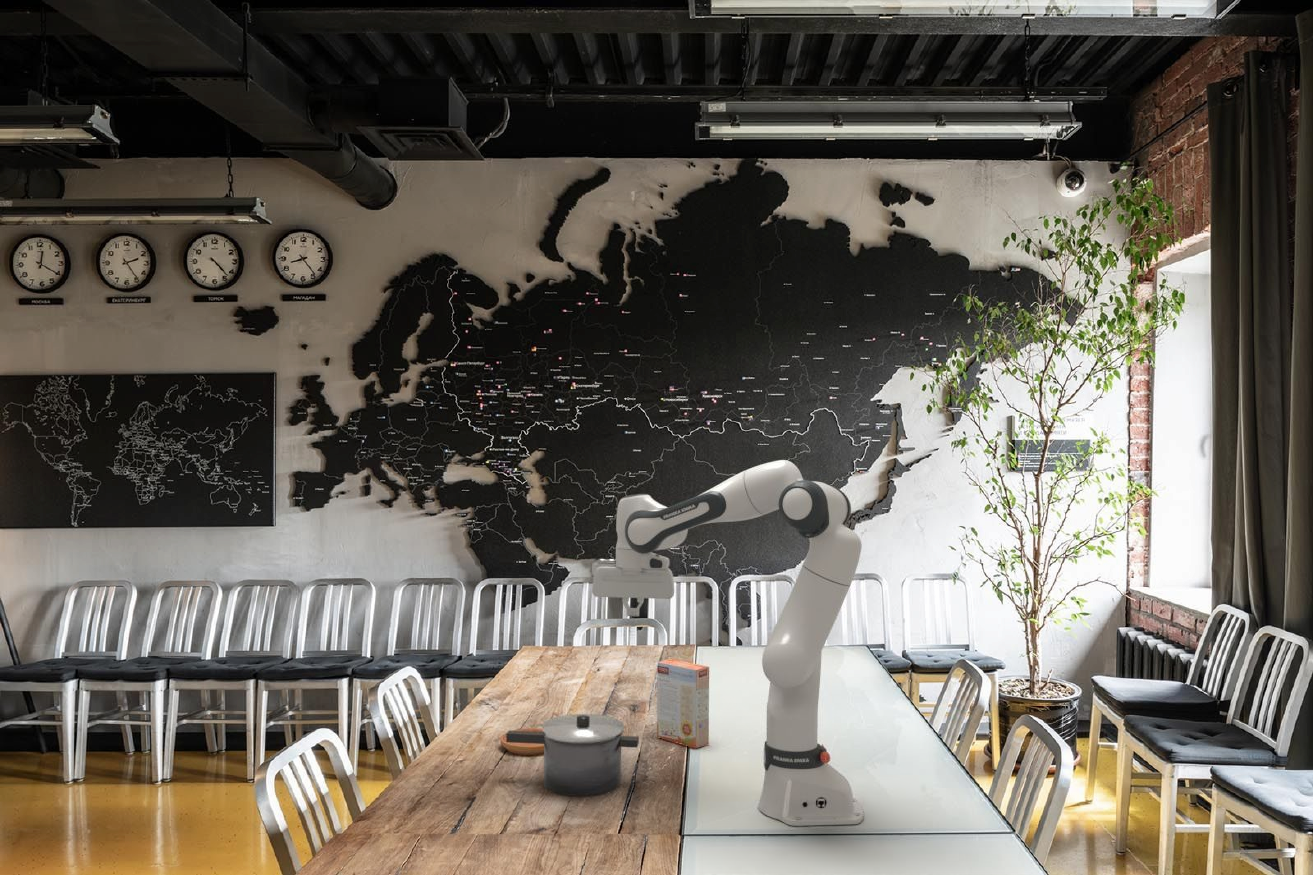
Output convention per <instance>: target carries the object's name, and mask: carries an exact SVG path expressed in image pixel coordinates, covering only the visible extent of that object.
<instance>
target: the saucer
mask: <svg viewBox="0 0 1313 875" xmlns="http://www.w3.org/2000/svg"><path fill="white" fill-rule="evenodd" d="M512 731H530V732H542V728H538V727H537V728H531V727H530V728H520V729H514V730H512ZM506 734H507V732H505V733H503V734H502V735H501V736H500V738H499V740H500V741H499V742H500V744H501V745H502V746H503V747H504V749H506V751H508V752H509V753H512V754H515V755H521V756H534V755H542V754H543V755H544V744H535V743H513V742H506Z"/></svg>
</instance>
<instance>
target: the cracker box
mask: <svg viewBox="0 0 1313 875" xmlns="http://www.w3.org/2000/svg"><path fill="white" fill-rule="evenodd" d="M656 673H657V678H656V679H657V686H656V688H657V689H656V690H657V691H656V692H657V693H656V699H657V700H656V738H657V737H660V738H663V739H665V740H664V741H666V740H669V741H668V742H670V741H672V742H671V743H673V742H678V743H682V744H684V745H687V746H688V747H687V746H686V747H687V748H692V749H694V750H695V749H698V748H702V747H704V746H708V745H709V742H710V741H709V739H710V738H709V734H710V733H709V732H710V730H709V729H710V726H709V725H710V722H709V721H710V716H709V714H710V713H709V712H710V666H707V665H703V664H697V663H693V662H687V661H683V660H677V659H673V658H668V659H664V660H661V661H658V662H657V672H656ZM663 739H662V740H663ZM684 745H683V746H684Z"/></svg>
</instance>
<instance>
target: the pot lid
mask: <svg viewBox="0 0 1313 875" xmlns="http://www.w3.org/2000/svg"><path fill="white" fill-rule="evenodd" d="M541 729H542V733H543V735H544V736H545V737H547V738H549V739H552V740H555V741H559V742H565V743H579V744H583V743H598V742H604V741H608V740H612V739H615V738H617V737H619V736H620V735H621V736H623V735H622V734H624V731H625V730H624V723H623V722H622V721H621V720H620V719H618V718H616V717H612V716H608V715H603V714H596V713H595V714H594V713H575V714H565V715H560V716H557V717H552V718H550V719H547V720H546V721H545V722H543V724H542V726H541Z"/></svg>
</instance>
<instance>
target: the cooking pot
mask: <svg viewBox="0 0 1313 875" xmlns="http://www.w3.org/2000/svg"><path fill="white" fill-rule="evenodd" d="M506 733H507V734H506V742H513V743H535V744H544V753H543V786H544V787H543V788H545V789H546V790H547V791H549V792H551V793H553V794H556V795H559V796H565V797H572V798H573V797H574V798H575V797H576V798H583V797H584V798H586V797H587V798H588V797H596V796H601V795H602V796H603V795H605V794H609V793H612V792H613V791H616V790H617V789H618V788H620V787H621V786H620V785H621V784H620V783H622V748H636V749H637V748H638V746H639V743H640V741H639V740H640V737H639V736H632V735H629V736H628V735H620V736H619V737H617V738H615V739H612V740H608V741H604V742H598V743H583V744H579V743H565V742H559V741H555V740H552V739H549V738H547V737H545V736H544V735H543V733H542V732H530V731H513V730H508V731H507V732H506ZM616 788H617V789H616ZM615 789H616V790H615ZM608 792H609V793H608Z"/></svg>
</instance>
